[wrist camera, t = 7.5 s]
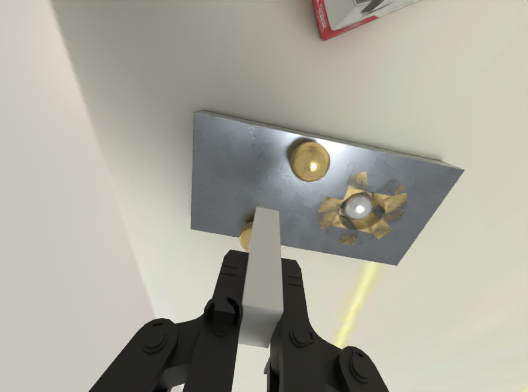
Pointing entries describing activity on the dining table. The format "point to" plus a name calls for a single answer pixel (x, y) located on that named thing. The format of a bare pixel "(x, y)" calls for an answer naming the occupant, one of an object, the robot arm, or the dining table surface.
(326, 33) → the ink box
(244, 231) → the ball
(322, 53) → the dining table surface
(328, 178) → the plate
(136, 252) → the dining table surface
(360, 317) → the dining table surface
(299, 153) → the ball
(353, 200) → the steel ball
